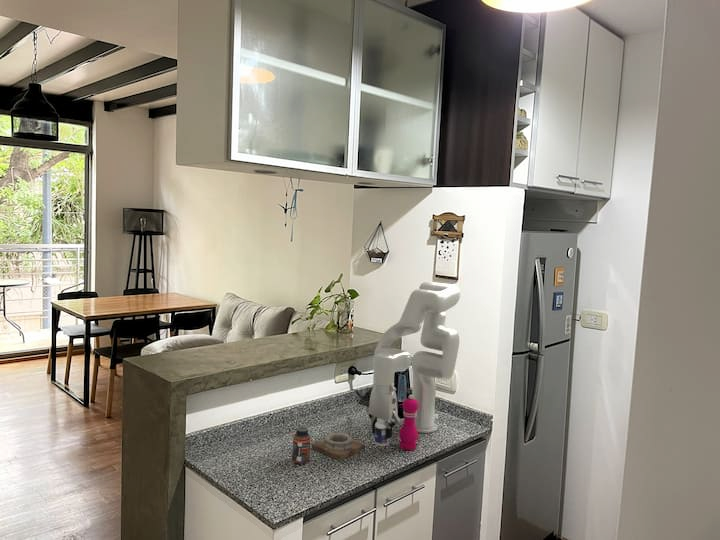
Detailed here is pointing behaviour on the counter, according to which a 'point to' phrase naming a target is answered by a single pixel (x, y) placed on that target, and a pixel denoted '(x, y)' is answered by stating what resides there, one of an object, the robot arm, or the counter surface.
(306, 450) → the supplement bottle
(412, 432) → the pepper mill
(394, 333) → the robot arm
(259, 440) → the counter surface
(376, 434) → the pill bottle
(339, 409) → the counter surface
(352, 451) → the hub board
